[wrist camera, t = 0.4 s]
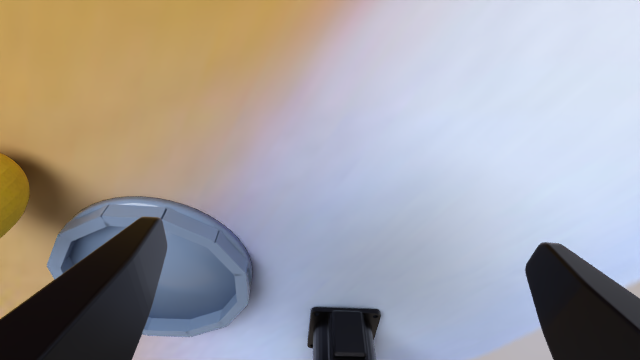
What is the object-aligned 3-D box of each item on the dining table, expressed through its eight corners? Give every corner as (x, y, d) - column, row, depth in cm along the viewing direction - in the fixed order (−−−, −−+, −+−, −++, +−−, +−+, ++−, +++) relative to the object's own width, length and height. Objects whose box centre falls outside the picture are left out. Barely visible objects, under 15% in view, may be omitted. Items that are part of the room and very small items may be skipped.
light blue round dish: (255, 320, 35) (252, 339, 34) (94, 314, 35) (84, 334, 33) (248, 202, 26) (244, 221, 25) (31, 190, 26) (12, 210, 24)
